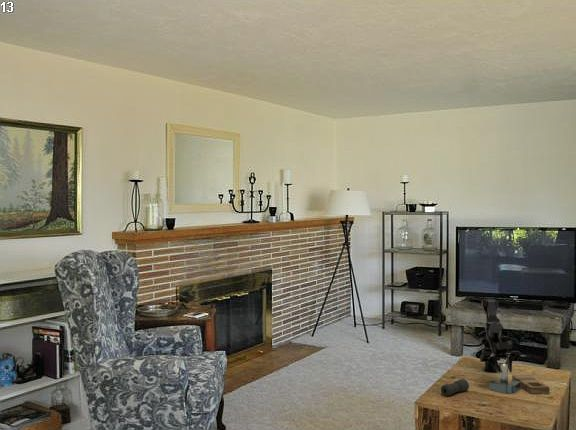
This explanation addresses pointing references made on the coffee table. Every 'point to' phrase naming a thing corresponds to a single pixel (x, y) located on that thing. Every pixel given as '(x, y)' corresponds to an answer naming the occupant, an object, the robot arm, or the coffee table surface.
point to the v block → (505, 387)
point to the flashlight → (455, 387)
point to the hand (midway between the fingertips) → (505, 372)
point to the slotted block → (531, 384)
